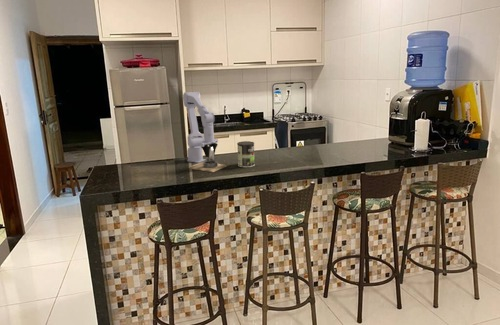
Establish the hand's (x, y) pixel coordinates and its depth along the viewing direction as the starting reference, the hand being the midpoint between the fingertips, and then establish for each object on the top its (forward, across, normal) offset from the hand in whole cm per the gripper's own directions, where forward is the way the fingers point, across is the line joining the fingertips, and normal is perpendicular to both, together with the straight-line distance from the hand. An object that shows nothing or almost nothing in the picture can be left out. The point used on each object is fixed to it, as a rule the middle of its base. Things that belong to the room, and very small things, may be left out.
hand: (210, 156), depth 219 cm
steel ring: (+7, 0, 0) cm, 7 cm away
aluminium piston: (+2, 0, 0) cm, 2 cm away
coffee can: (+8, +15, -16) cm, 23 cm away
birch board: (+7, 0, +2) cm, 7 cm away
